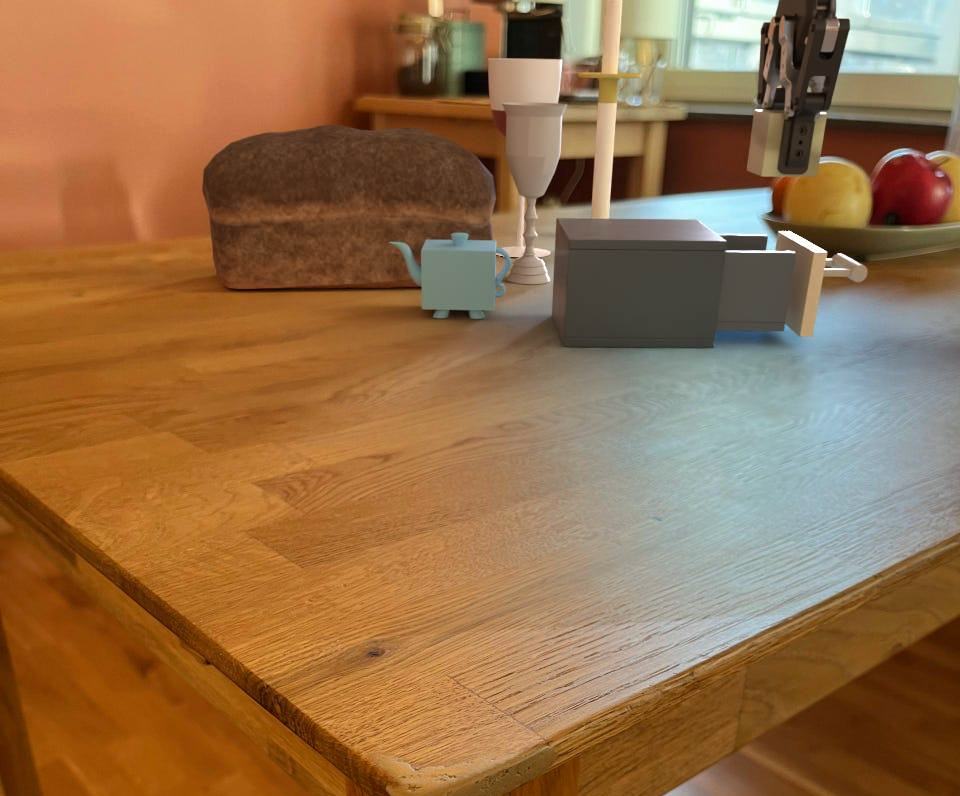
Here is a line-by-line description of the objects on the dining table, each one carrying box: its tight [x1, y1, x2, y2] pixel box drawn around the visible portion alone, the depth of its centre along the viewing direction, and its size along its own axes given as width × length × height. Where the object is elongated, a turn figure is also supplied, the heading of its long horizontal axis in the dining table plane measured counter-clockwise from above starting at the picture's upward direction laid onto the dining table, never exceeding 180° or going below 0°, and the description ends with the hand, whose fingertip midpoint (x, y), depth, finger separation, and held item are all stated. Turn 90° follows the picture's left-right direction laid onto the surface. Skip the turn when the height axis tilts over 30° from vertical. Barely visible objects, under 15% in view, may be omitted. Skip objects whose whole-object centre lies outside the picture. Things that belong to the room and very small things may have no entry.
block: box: [746, 109, 828, 178], centre depth 80 cm, size 4×4×4 cm
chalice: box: [502, 102, 568, 285], centre depth 113 cm, size 7×7×18 cm
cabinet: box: [551, 217, 727, 349], centre depth 95 cm, size 14×13×9 cm
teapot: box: [389, 233, 512, 320], centre depth 101 cm, size 12×6×8 cm, turn 89°
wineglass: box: [487, 57, 563, 258], centre depth 127 cm, size 9×10×22 cm
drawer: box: [716, 230, 868, 338], centre depth 95 cm, size 17×11×7 cm, turn 91°
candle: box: [576, 0, 643, 219], centre depth 135 cm, size 10×10×38 cm
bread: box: [201, 123, 497, 290], centre depth 113 cm, size 15×32×16 cm, turn 98°
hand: (782, 169), depth 81 cm, fingers closed on block, 4 cm apart
